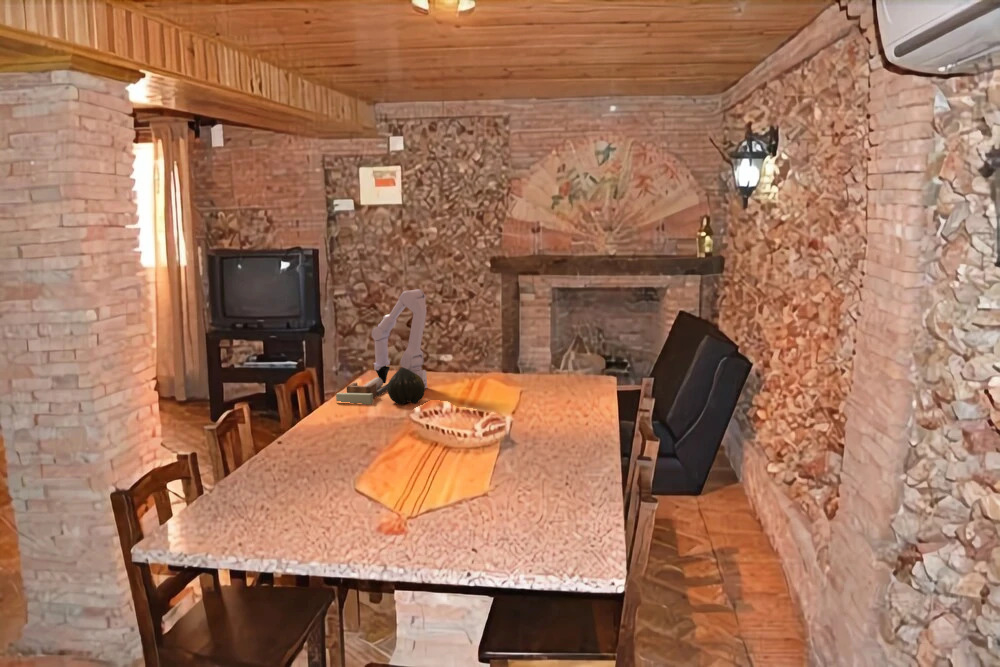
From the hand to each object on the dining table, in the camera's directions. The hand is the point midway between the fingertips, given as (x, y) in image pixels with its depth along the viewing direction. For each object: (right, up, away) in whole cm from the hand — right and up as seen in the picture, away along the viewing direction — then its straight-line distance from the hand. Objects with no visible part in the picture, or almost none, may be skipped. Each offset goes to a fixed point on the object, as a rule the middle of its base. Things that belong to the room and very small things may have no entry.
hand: (383, 383), depth 347 cm
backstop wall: (-7, -6, -32) cm, 33 cm away
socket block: (-5, -5, -24) cm, 25 cm away
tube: (-3, -4, -13) cm, 14 cm away
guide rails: (-2, -3, -7) cm, 8 cm away
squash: (+14, -6, -32) cm, 36 cm away
